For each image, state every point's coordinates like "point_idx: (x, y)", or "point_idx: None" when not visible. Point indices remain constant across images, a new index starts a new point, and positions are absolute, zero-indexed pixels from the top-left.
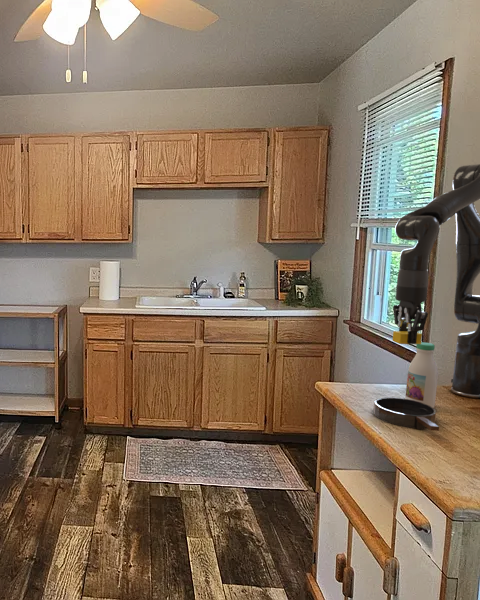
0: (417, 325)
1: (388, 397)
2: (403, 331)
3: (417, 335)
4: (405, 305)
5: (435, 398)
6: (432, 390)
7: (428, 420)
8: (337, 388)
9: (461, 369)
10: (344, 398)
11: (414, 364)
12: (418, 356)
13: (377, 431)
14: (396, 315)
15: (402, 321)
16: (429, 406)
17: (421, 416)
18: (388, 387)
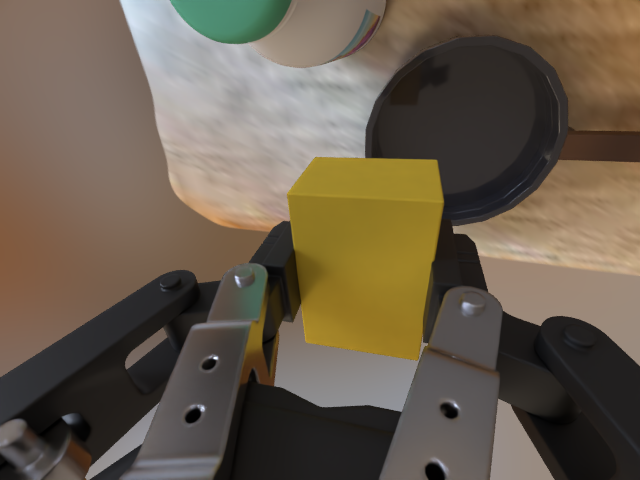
0: (493, 364)
1: (365, 150)
2: (311, 288)
3: (436, 237)
4: None
5: None
6: None
7: (610, 140)
8: (216, 195)
9: None
10: None
11: (305, 58)
12: (283, 36)
13: (542, 257)
14: (143, 411)
15: (272, 379)
16: (471, 44)
17: (564, 141)
18: (152, 19)
